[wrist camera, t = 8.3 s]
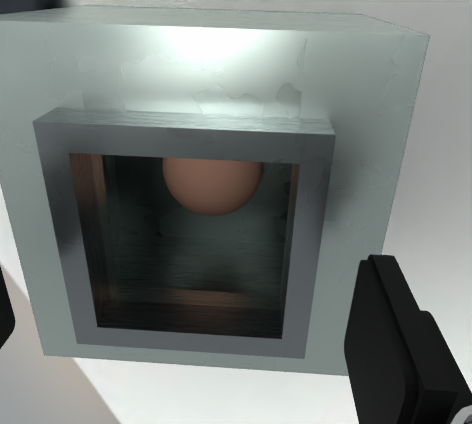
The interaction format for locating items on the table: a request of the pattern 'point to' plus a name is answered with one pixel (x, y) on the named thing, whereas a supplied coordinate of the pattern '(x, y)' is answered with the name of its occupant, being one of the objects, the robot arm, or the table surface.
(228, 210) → the peach sphere
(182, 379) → the table surface
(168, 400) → the table surface
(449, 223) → the table surface
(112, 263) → the box
